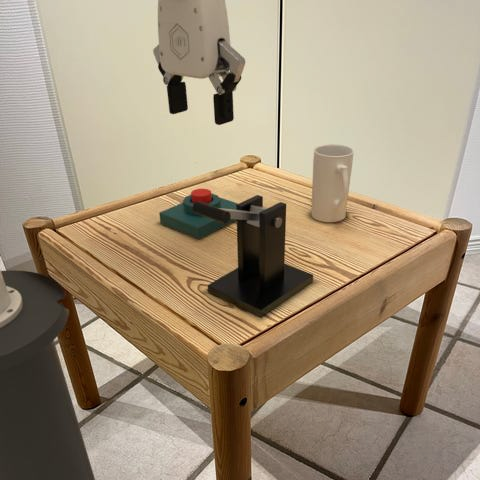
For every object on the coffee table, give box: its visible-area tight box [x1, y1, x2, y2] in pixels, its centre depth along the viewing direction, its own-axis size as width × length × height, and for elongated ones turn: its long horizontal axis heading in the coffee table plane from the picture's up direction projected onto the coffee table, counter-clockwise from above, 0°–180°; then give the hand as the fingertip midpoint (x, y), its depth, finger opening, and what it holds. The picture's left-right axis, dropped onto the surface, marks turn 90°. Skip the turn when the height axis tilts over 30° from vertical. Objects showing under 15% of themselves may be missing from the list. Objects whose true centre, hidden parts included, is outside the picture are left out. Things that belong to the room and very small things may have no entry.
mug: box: [310, 143, 355, 223], centre depth 90 cm, size 10×7×12 cm, turn 12°
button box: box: [158, 192, 239, 240], centre depth 93 cm, size 12×10×4 cm
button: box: [190, 188, 212, 204], centre depth 91 cm, size 4×4×2 cm
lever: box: [193, 201, 268, 227], centre depth 65 cm, size 12×5×2 cm, turn 138°
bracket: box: [207, 194, 314, 318], centre depth 71 cm, size 12×10×13 cm
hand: (200, 117), depth 75 cm, fingers open, 9 cm apart
